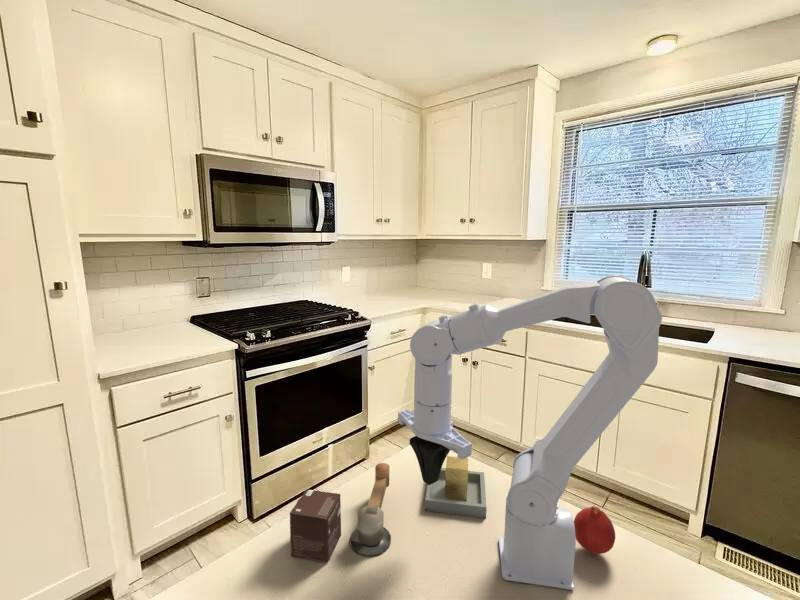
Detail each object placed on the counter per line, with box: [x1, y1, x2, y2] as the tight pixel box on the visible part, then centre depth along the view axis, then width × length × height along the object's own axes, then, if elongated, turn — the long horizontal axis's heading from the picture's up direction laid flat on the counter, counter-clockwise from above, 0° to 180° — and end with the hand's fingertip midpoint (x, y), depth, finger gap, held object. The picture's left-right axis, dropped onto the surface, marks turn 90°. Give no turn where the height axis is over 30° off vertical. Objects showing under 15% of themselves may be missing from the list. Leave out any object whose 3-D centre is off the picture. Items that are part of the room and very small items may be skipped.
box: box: [289, 489, 342, 563], centre depth 61 cm, size 6×6×7 cm
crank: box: [357, 462, 390, 546], centre depth 67 cm, size 14×4×5 cm, turn 173°
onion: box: [573, 504, 616, 556], centre depth 60 cm, size 6×6×8 cm
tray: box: [424, 467, 488, 519], centre depth 74 cm, size 11×11×2 cm
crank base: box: [349, 526, 392, 558], centre depth 62 cm, size 6×6×1 cm
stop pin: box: [445, 455, 469, 501], centre depth 73 cm, size 4×4×6 cm
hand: (430, 481), depth 62 cm, fingers closed
